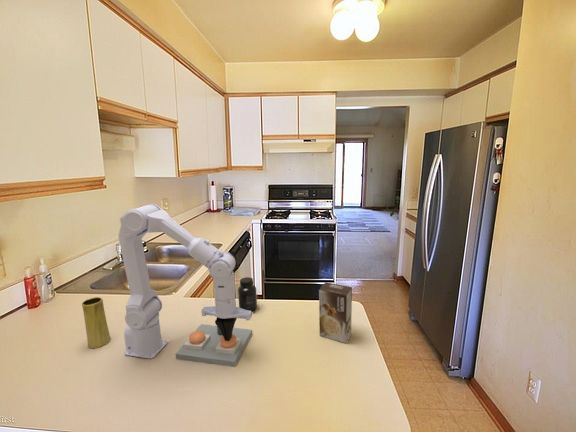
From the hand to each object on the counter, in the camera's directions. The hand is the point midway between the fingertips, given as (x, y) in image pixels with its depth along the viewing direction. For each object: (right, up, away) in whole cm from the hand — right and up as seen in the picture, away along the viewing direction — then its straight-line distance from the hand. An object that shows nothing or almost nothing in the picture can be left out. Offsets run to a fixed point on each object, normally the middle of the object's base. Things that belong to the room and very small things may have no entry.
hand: (228, 338), depth 84 cm
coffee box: (+33, -2, +8) cm, 34 cm away
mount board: (-4, -4, +4) cm, 7 cm away
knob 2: (0, -4, +1) cm, 4 cm away
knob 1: (-10, -4, +3) cm, 11 cm away
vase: (-42, -4, +7) cm, 43 cm away
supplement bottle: (+2, +1, +24) cm, 25 cm away
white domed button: (-4, -1, +8) cm, 9 cm away
